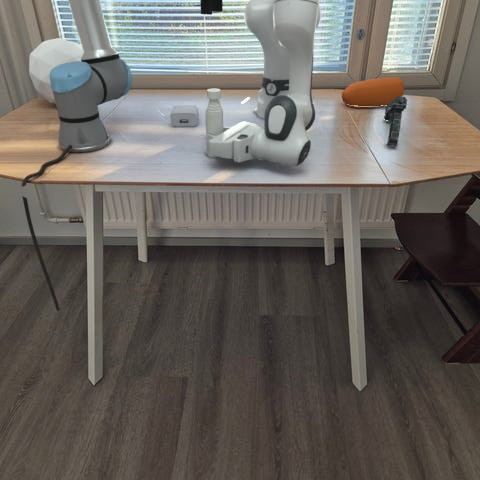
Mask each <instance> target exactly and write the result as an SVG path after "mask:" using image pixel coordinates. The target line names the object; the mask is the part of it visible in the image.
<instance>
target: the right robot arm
mask: <svg viewBox="0 0 480 480" xmlns="http://www.w3.org/2000/svg"><path fill="white" fill-rule="evenodd" d="M243 19H244V24H245V26H246V28H247V29H248V30H249V32H250V33H252V35H254V36H255V38H256V40H258V43H259V44H260V46H261V47H260V48H261V50H262V54H263V75H262V77H261V89H259V90H258V95H257V105H256V108H254V110H253V112H254V113H255V114H257V116H258V117H259V118H260V119H264V123H263V124H264V125H263V127H262V126H261V125H260V124H258V123H253V122H250V121H240V122H238V123H236V124H235V125H233V126H223V133H221V134H219V135H217V136H213V134H211V133H207V134H206V133H205V134H204V139H205V141H206V140H207V141H208V150H209V152H210V153H211V154H212V155H215V156H219V157H218V158H223V159H227V160H228V159H229V160H231V159H233V162H235V163H242V162H245V161H246V162H247V161H249V160H259V161H265V160H266V161H268V162H271V163H273V164H275V165H276V164H277V165H281V166H289V167H296V166H299V165H302V163H304V162H305V160H306V159H307V158H308V155H309V153H310V151H311V145H312V143H311V139H310V138H309V136H308V134H307V131H308V130H310V128H311V127H312V126H313V124H314V123H315V119H316V108H315V105H314V101H313V96H312V88H313V74H314V73H313V72H314V71H313V70H314V69H313V68H314V49H315V40H316V39H315V38H316V30H317V29H318V27H319V25H320V23H321V20H322V9H321V6H320V0H249V1H248V3H247V4H246V6H245V9H244V13H243ZM248 100H250V97H249V96H248V97H247V98H245V99H244V100H243V101H241V104H244V103H246V102H247V101H248ZM207 141H206V142H207Z"/></svg>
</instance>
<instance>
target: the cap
mask: <svg viewBox="0 0 480 480" xmlns="http://www.w3.org/2000/svg"><path fill="white" fill-rule="evenodd" d="M221 97H222V91H221V89H220V88H215V87H213V88H212V87H211V88H208V89H206V98H207V99H208V100H209V99H219V100H220V99H221Z"/></svg>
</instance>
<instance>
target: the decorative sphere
mask: <svg viewBox="0 0 480 480" xmlns="http://www.w3.org/2000/svg"><path fill="white" fill-rule="evenodd" d="M83 53H84V50H83V47H82V46H81V45H80V44H79V43H78V42H76V41H71V40H68V39H64V38H60V37H57V38H52V39H47V40H44V41H42V42H41V43H40V44H39V45H38V46H37V47H36V48H35V49H34V50H32V51H31V52H30V54H29V62H28V75H29V78H30V80H31V81H32V85H33V87H34V89H35V91H37V93H39V95H41V96H42V97H43V98H44V99H46V100H47V101H48V102H49V103H50V104H55V105H56V103H55V98H54V95H53V91H52V89H51V81H50V72H51V70H52V69H53V68H54V67H56V66H58V65H61V64H64V63H70V62H78V61H80V62H82V61H81V57H82V55H83Z"/></svg>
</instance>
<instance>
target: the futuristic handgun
mask: <svg viewBox="0 0 480 480" xmlns="http://www.w3.org/2000/svg"><path fill="white" fill-rule="evenodd" d="M407 105H408V99H407V97H406V96H404V95H403V96H397V97H396V98H394V99H393V100H392V101H391V102H390V103H389V104H388V105H387V106H385V110H384V115H383V121H385V122H389V124H390V125H389V132H388V137H387V141H386V142H387V143H386V146H395V147H396V146H398V142H399V137H400V129H401V124H402V116H403V112H404V110H406V109H407ZM384 119H385V120H384ZM386 120H388V121H386Z"/></svg>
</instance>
